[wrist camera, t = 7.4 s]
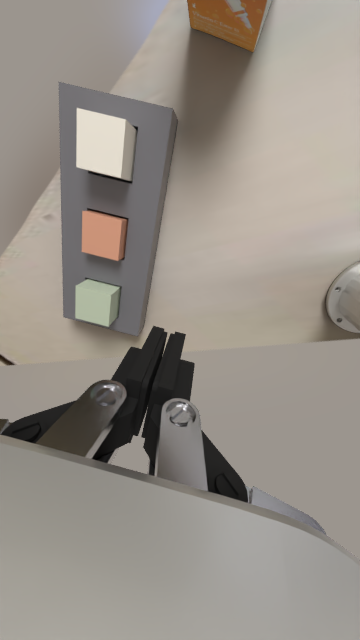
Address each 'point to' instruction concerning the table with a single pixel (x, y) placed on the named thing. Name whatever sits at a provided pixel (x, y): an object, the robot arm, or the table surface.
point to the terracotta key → (104, 234)
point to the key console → (115, 201)
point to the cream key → (105, 144)
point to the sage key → (97, 302)
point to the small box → (230, 19)
